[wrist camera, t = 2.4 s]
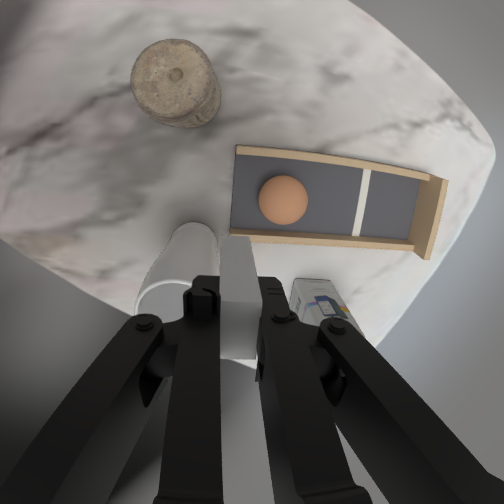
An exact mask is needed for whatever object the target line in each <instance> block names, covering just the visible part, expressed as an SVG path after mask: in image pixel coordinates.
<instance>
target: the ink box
mask: <svg viewBox="0 0 504 504" xmlns="http://www.w3.org/2000/svg"><path fill="white" fill-rule="evenodd" d="M289 308H290V310H292V311H293V312H295V313H296V314H297V315H298V317H299V320H300V321H301V322H303V323H306V324H310V325H315V326H320V322H321V321H322V320H323V319H326V318H328V317H337V318H342V319H344V320H346V321H348V322H349V323H351V324H352V325H353V326H354V327H355V328H356V329H357V330H358V331H359V332H360V333H361V334H362V335H363V336H364V334H363V332H362V331H361V329H360V328H359V326H358V324H357V323H356V321H355V319H354V318H353V316H352V315H351V313H350V311H349V310H348V308H347V307H346V305H345V303H344V302H343V300H342V299H341V297H340V296H339V294H338V292H337V291H336V289H335V288H334V286H333V284H332V283H331V281H327V280H311V279H295V280H294V285H293V289H292V294H291V299H290V304H289ZM364 338H365V336H364Z"/></svg>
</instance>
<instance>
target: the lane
mask: <svg viewBox="0 0 504 504" xmlns="http://www.w3.org/2000/svg"><path fill="white" fill-rule="evenodd" d="M282 175H284V176H290V177H293V178H295V179H297V180H298V181H299V182H300V183H301V184H302V185H303V186H304V188H305V190H306V192H307V196H308V205H307V208H306V211H305V213H304V214H303V216H302V217H301V218H300V219H299V220H297V221H296V222H294V223H291V224H286V225H281V224H276V223H273V222H271V221H270V220H268V219H267V218H266V217H265V216H264V215H263V213H262V212H261V210H260V207H259V201H258V199H259V193H260V190H261V188H262V187H263V185H264V184H265V183H266V182H267V181H268V180H269V179H271V178H273V177H276V176H282ZM448 182H449V181H448V180H445V179H442V178H440V177H437V176H434V175H431V174H428V173H425V172H421V171H417V170H412V169H407V168H403V167H398V166H393V165H388V164H383V163H378V162H372V161H367V160H361V159H355V158H349V157H342V156H336V155H329V154H322V153H315V152H307V151H298V150H290V149H280V148H270V147H259V146H247V145H236V155H235V168H234V181H233V195H232V209H231V223H230V236H249V238H250V242H260V243H279V244H298V245H316V246H334V247H352V248H369V249H385V250H402V251H413V252H415V253H416V254H417V255H418V256H420V257H421V258H422V259H423V260H430V256H431V253H432V249H433V246H434V242H435V238H436V235H437V231H438V227H439V223H440V219H441V215H442V210H443V206H444V201H445V197H446V192H447V187H448Z"/></svg>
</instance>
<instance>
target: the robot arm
mask: <svg viewBox="0 0 504 504" xmlns="http://www.w3.org/2000/svg"><path fill="white" fill-rule="evenodd" d="M183 314H184V315H183V317H182V318H180V319H178V320H176V321H172V322H166V323H162V319H160V318H159V317H158V316H156V315H153V314H147V313H144V314H138V315H135V316H132V317H131V318H130V319H129V320H128V321H127V322H126V323H125V324H124V325H123V326H122V328H121V329H120V330H119V331H118V332H117V334H116V335H115V336H114V337H113V338H112V340H111V341H110V342H109V343H108V344H107V346H106V347H105V348H104V349H103V351H102V352H101V353H100V354H99V355H98V357H97V358H96V359H95V360H94V362H93V363H92V364H91V366H90V367H89V368H88V369H87V370H86V372H85V373H84V374H83V375H82V377H81V378H80V379H79V380H78V382H77V383H76V384H75V386H74V387H73V388H72V389H71V391H70V392H69V393H68V394H67V396H66V397H65V398H64V400H63V401H62V402H61V404H60V405H59V406H58V407H57V409H56V410H55V411H54V413H53V414H52V415H51V417H50V418H49V420H48V421H47V422H46V423H45V425H44V426H43V427H42V429H41V430H40V432H39V433H38V434H37V436H36V437H35V438H34V440H33V441H32V443H31V444H30V445H29V447H28V448H27V450H26V451H25V453H24V454H23V455H22V457H21V458H20V460H19V461H18V463H17V464H16V466H15V467H14V468H13V470H12V471H11V473H10V474H9V476H8V477H7V479H6V480H5V482H4V483H3V485H2V486H1V488H0V504H105V503H106V501H107V499H108V497H109V495H110V493H111V491H112V489H113V487H114V485H115V483H116V481H117V479H118V477H119V475H120V473H121V471H122V469H123V467H124V465H125V464H126V462H127V460H128V457H129V456H130V454H131V452H132V449H133V448H134V446H135V444H136V442H137V440H138V438H139V436H140V434H141V432H142V430H143V428H144V426H145V424H146V422H147V420H148V418H149V417H150V415H151V413H152V411H153V409H154V407H155V405H156V403H157V401H158V399H159V397H160V395H161V393H162V391H163V389H164V387H165V386H166V384H167V382H168V379H169V376H173V379H172V386H171V393H170V399H169V406H168V414H167V421H166V429H165V436H164V445H163V453H162V463H161V472H160V482H159V491H158V495H157V496H156V497H155V498H154V500H153V504H224V501H223V482H222V453H221V409H220V408H221V405H220V359H256V354H257V356H258V362H257V370H256V378H255V381H256V382H257V381H258V382H259V390H260V398H261V406H262V413H263V420H264V428H265V436H266V442H267V450H268V457H269V465H270V472H271V480H272V487H273V494H274V501H275V504H373V503H372V500H371V497H370V495H369V493H368V491H367V490H366V489H365V488H364V487H361V486H358V485H356V484H355V483H354V481H353V478H352V475H351V472H350V469H349V466H348V462H347V459H346V456H345V453H344V450H343V447H342V444H341V441H340V438H339V435H338V432H337V428H336V425H337V427H338V428H339V430H340V431H341V433H342V434H343V436H344V437H345V439H346V440H347V442H348V443H349V445H350V446H351V448H352V449H353V451H354V452H355V454H356V455H357V457H358V458H359V460H360V461H361V463H362V464H363V466H364V467H365V469H366V470H367V472H368V473H369V474H370V476H371V477H372V479H373V480H374V482H375V483H376V485H377V486H378V488H379V489H380V491H381V492H382V493H383V495H384V496H385V498H386V499H387V501H388V502H389V504H504V481H502V480H501V479H499V478H497V477H495V476H493V475H492V474H490V473H488V472H487V471H486V470H485V469H484V467H483V466H482V465H481V464H480V463H479V462H478V460H477V459H476V458H475V457H474V456H473V455H472V454H471V453H470V451H469V450H468V449H467V448H466V447H465V446H464V445H463V444H462V442H461V441H459V439H458V438H457V437H456V436H455V435H454V433H453V432H452V431H451V430H450V429H449V428H448V427H447V426H446V425H445V424H444V423H443V421H442V420H441V419H440V418H439V417H438V416H437V415H436V414H435V413H434V411H433V410H432V409H431V408H430V407H429V406H428V405H427V404H426V403H425V402H424V401H423V399H422V398H421V397H420V396H419V395H418V394H417V393H416V392H415V391H414V390H413V389H412V388H411V387H410V385H409V384H408V383H407V382H406V381H405V380H404V379H403V378H402V377H401V376H400V375H399V374H398V372H397V371H396V370H395V369H394V368H393V367H392V366H391V365H390V364H389V363H388V362H387V361H386V360H385V359H384V358H383V357H382V356H381V355H380V353H378V351H377V350H376V349H375V348H374V347H373V346H372V345H371V344H370V343H369V342H368V341H367V340H366V339H365V338H364V336H363V335H362V334H361V333H360V332H359V331H358V330H357V329H356V328H355V327H354V326H353V325H352V324H351V323H349V322H348V321H346V320H344V319H342V318H337V317H328V318H326V319H323V320H322V321H321V322H320V326H315V325H310V324H306V323H303V322H301V321H300V320H299V317H298V315H297V314H296V313H295V312H293V311H292V310H290V308H289V305H288V302H287V299H286V296H285V293H284V290H283V287H282V284H281V282H280V281H279V280H278V279H277V278H275V277H258V276H257V272H256V267H255V262H254V257H253V252H252V247H251V242H250V238H249V236H230V235H221V256H220V276H210V275H198V276H197V277H196V278H194V279H193V281H192V286H191V288H189V289H188V290H186V291H185V292H184V294H183ZM335 424H336V425H335Z"/></svg>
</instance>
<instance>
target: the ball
mask: <svg viewBox="0 0 504 504" xmlns="http://www.w3.org/2000/svg"><path fill="white" fill-rule="evenodd" d="M258 201H259V207H260V210H261V212H262V213H263V215H264V216H265V217H266V218H267V219H268V220H270V221H271V222H273V223H276V224H281V225H286V224H291V223H294V222H296V221H297V220H299V219H300V218H301V217H302V216H303V214H304V213H305V211H306V208H307V205H308V196H307V192H306V190H305V188H304V186H303V185H302V184H301V183H300V182H299V181H298V180H297V179H295V178H293V177H290V176H284V175H282V176H276V177H273V178H271V179H269V180H268V181H267V182H266V183H265V184H264V185H263V187H262V188H261V190H260V193H259V199H258Z"/></svg>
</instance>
